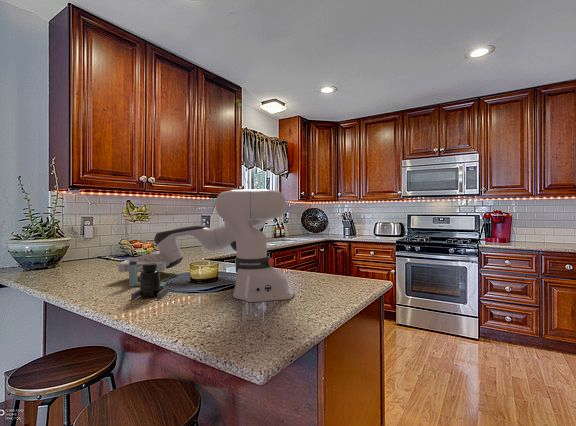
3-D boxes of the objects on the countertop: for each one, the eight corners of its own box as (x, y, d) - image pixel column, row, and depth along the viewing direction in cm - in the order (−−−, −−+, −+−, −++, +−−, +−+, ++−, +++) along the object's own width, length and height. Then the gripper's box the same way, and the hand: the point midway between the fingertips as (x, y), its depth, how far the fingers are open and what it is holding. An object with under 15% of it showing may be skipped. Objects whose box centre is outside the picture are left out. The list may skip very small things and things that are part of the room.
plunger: (174, 283, 137) (173, 260, 137) (163, 292, 124) (163, 265, 124) (131, 284, 137) (131, 260, 136) (116, 292, 124) (116, 266, 124)
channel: (168, 292, 124) (168, 287, 124) (160, 298, 116) (160, 293, 116) (140, 293, 124) (140, 288, 124) (131, 299, 116) (131, 293, 116)
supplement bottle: (164, 295, 121) (163, 263, 121) (147, 299, 115) (146, 266, 115) (152, 292, 125) (152, 261, 125) (136, 297, 119) (135, 264, 119)
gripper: (170, 270, 153) (160, 276, 139) (126, 270, 152) (112, 277, 138) (170, 256, 153) (160, 262, 139) (126, 257, 152) (111, 262, 138)
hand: (135, 269), depth 138 cm, fingers closed
